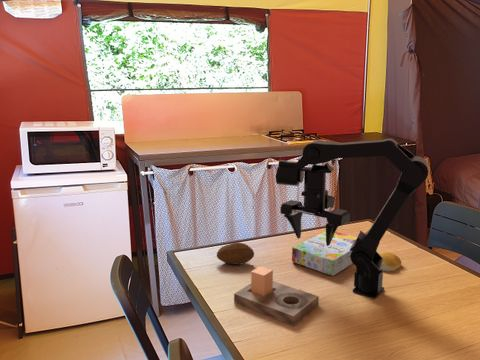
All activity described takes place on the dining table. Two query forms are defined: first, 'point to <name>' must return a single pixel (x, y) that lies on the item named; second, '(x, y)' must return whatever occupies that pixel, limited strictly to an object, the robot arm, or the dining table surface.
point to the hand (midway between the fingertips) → (313, 241)
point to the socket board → (279, 302)
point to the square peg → (262, 281)
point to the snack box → (324, 253)
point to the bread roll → (390, 261)
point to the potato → (235, 253)
